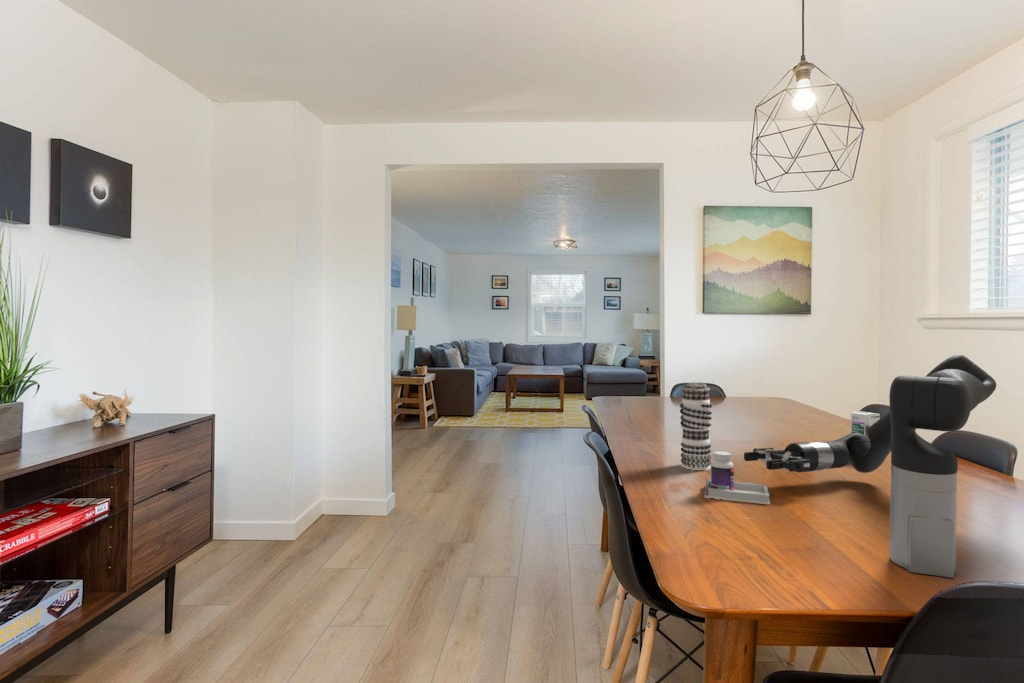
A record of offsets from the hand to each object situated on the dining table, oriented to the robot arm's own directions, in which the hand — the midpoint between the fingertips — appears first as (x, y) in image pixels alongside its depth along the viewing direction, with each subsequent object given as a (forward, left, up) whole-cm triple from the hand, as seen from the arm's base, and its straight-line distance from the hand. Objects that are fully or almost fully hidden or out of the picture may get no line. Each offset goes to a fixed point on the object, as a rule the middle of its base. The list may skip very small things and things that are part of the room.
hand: (755, 460), depth 135 cm
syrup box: (+46, -34, -8) cm, 58 cm away
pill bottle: (-6, +8, -7) cm, 12 cm away
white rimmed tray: (-6, +5, -8) cm, 11 cm away
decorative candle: (+18, +15, -8) cm, 25 cm away
